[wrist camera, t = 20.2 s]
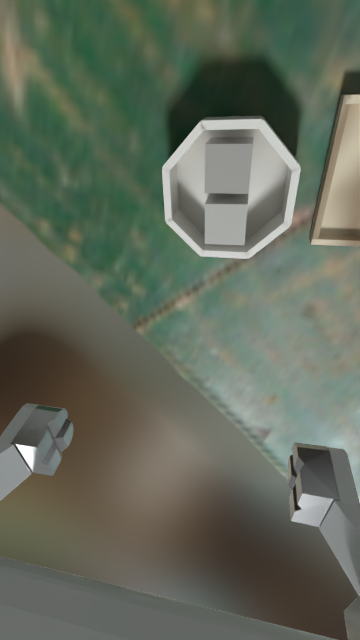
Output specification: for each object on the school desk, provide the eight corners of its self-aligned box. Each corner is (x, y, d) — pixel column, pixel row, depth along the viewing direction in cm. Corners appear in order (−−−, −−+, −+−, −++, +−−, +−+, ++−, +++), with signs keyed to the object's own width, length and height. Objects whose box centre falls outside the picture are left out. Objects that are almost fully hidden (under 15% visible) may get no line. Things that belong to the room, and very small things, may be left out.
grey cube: (248, 191, 32) (247, 204, 29) (245, 229, 35) (244, 245, 31) (210, 191, 33) (204, 204, 30) (209, 228, 36) (204, 243, 32)
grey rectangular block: (253, 136, 30) (253, 143, 26) (249, 182, 32) (248, 194, 28) (211, 137, 30) (205, 144, 27) (210, 181, 33) (204, 193, 29)
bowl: (303, 113, 28) (309, 117, 25) (281, 243, 36) (284, 260, 32) (169, 117, 31) (158, 121, 27) (175, 239, 38) (167, 254, 34)
